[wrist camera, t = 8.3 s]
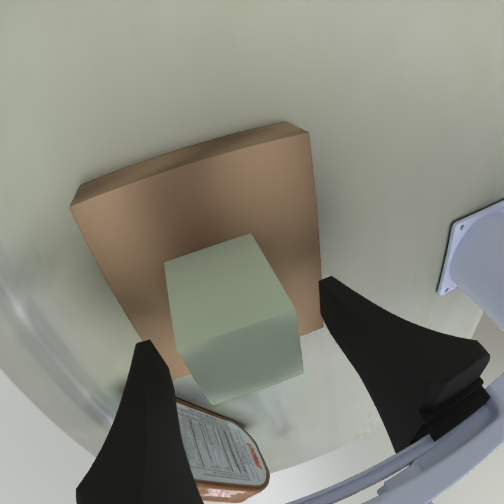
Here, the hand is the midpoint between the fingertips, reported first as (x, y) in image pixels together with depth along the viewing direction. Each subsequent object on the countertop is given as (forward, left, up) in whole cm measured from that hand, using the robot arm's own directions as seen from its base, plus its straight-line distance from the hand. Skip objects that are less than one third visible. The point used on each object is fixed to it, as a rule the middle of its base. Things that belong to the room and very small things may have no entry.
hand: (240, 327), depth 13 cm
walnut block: (0, 0, -6) cm, 6 cm away
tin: (+6, +15, -6) cm, 17 cm away
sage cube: (0, 0, -3) cm, 3 cm away
